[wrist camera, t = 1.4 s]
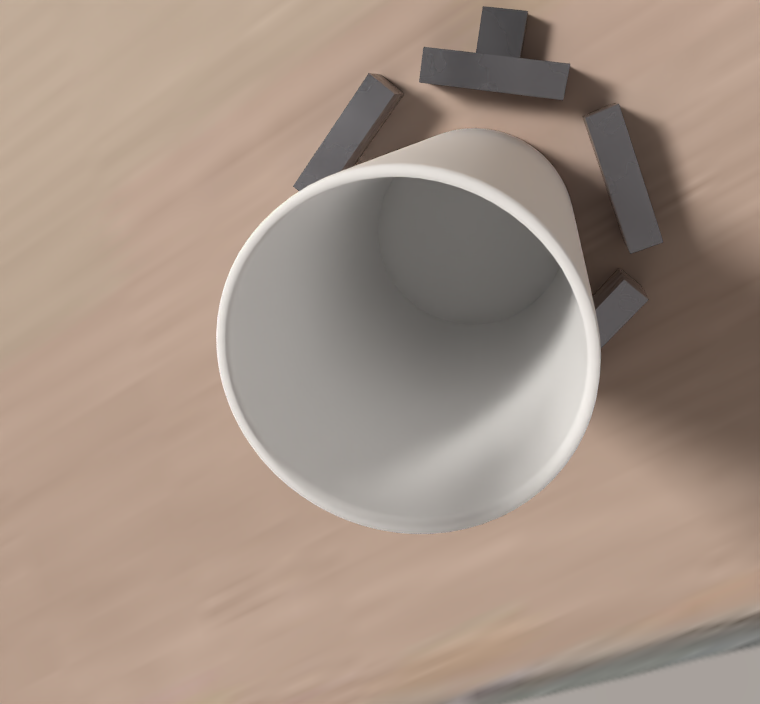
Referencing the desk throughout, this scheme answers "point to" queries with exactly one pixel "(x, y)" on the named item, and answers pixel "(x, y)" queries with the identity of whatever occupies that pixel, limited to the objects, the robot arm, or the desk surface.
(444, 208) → the cup
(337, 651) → the desk surface
